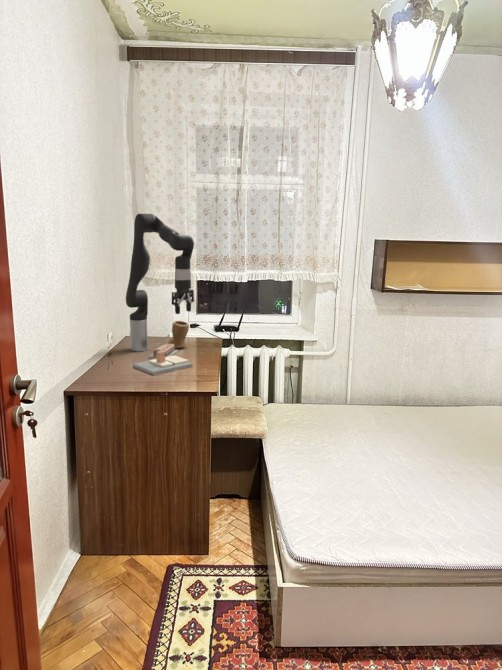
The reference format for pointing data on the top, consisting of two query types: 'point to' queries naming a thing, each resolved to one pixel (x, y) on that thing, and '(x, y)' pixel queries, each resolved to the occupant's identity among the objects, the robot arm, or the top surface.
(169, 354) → the packaged product
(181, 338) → the brown hollow piece
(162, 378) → the top surface
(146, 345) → the robot arm
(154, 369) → the board
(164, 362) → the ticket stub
